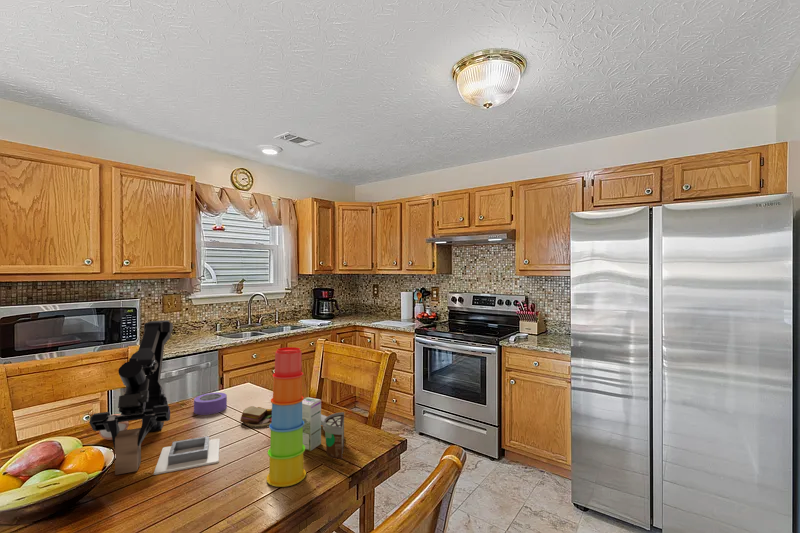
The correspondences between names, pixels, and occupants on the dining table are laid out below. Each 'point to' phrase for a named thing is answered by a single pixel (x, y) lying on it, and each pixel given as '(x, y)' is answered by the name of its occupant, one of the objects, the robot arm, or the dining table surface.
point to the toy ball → (108, 435)
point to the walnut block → (127, 451)
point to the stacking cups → (287, 420)
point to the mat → (212, 459)
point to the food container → (334, 435)
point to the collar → (190, 455)
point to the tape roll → (210, 403)
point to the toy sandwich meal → (257, 417)
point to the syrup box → (311, 422)
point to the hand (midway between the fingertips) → (127, 447)
